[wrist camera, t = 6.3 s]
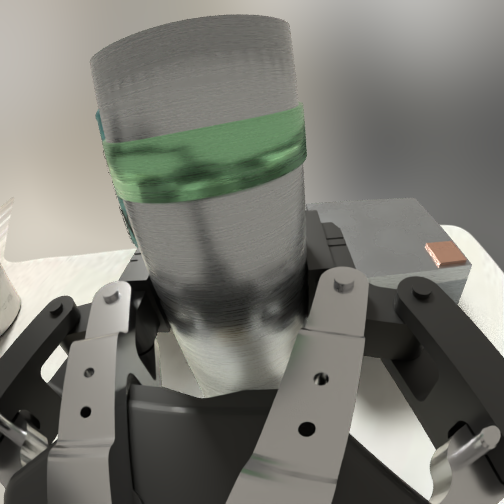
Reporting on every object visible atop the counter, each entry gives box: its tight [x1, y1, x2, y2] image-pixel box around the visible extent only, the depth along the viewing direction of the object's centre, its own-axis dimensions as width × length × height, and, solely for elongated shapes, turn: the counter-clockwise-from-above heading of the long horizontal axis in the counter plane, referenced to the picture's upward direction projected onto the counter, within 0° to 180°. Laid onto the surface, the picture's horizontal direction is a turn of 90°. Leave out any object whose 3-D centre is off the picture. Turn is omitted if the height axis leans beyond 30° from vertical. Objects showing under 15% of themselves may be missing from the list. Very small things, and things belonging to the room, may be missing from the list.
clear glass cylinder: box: [90, 15, 307, 398], centre depth 10 cm, size 6×6×16 cm
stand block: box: [306, 198, 472, 304], centre depth 19 cm, size 9×9×6 cm
